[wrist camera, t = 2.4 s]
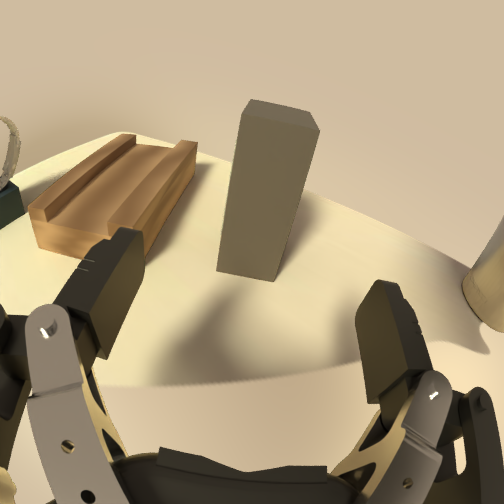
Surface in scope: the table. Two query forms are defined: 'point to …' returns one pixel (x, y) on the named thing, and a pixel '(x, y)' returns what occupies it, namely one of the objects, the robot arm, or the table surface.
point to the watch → (3, 190)
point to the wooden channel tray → (112, 195)
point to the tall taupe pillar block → (265, 187)
